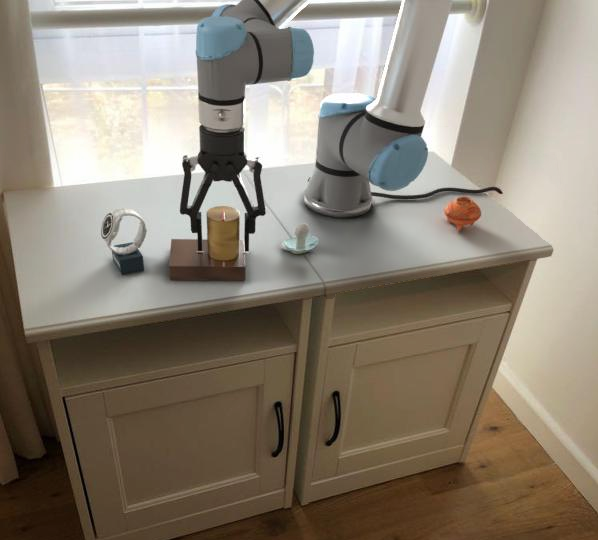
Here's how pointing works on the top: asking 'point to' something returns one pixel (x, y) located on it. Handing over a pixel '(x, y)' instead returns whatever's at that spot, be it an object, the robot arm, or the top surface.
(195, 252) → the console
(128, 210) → the watch
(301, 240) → the pacifier
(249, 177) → the top surface
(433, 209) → the top surface
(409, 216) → the top surface
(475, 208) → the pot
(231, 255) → the dial
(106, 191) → the top surface
